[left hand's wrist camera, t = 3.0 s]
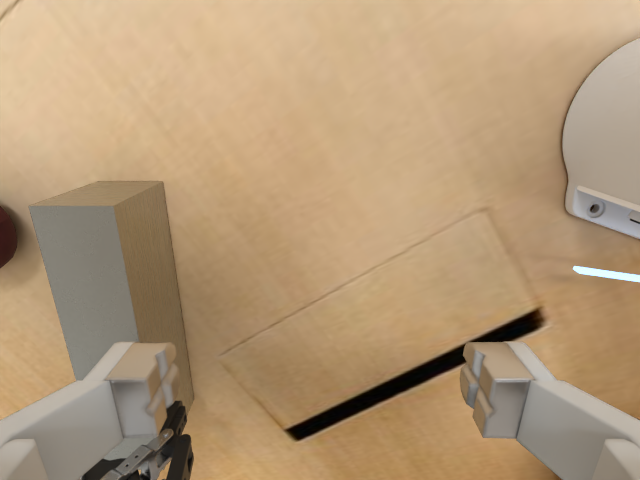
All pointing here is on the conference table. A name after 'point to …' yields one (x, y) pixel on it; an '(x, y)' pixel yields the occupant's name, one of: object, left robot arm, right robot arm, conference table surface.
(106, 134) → the conference table surface
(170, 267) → the bar
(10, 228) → the dark red plum
